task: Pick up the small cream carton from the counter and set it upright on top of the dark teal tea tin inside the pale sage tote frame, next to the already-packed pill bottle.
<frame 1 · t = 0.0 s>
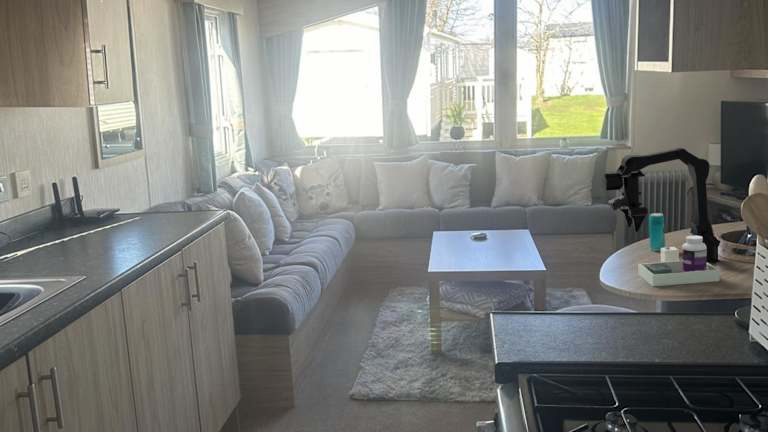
hand: (632, 229, 287), 15 cm above the table, fingers open, 9 cm apart
tote: (677, 277, 271), on the table
pill bottle: (694, 276, 270), resting in tote
tin: (659, 279, 271), resting in tote
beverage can: (657, 250, 311), on the table
carton: (670, 266, 285), on the table
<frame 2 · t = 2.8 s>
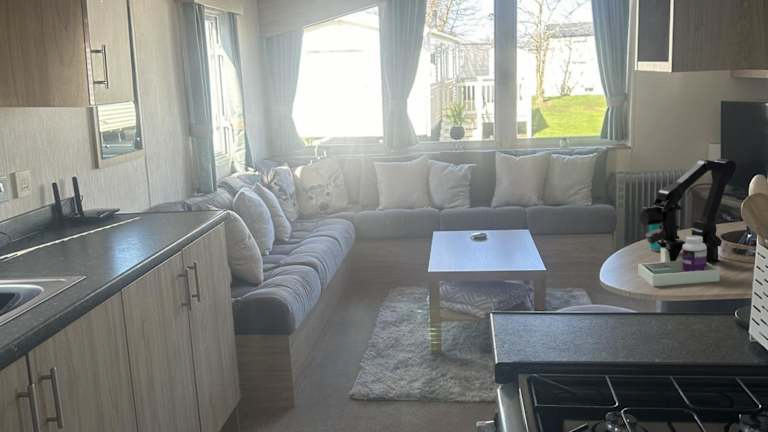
hand: (669, 262, 285), 2 cm above the table, fingers closed on carton, 5 cm apart
carton: (669, 266, 285), on the table, touching gripper
everything else where it was.
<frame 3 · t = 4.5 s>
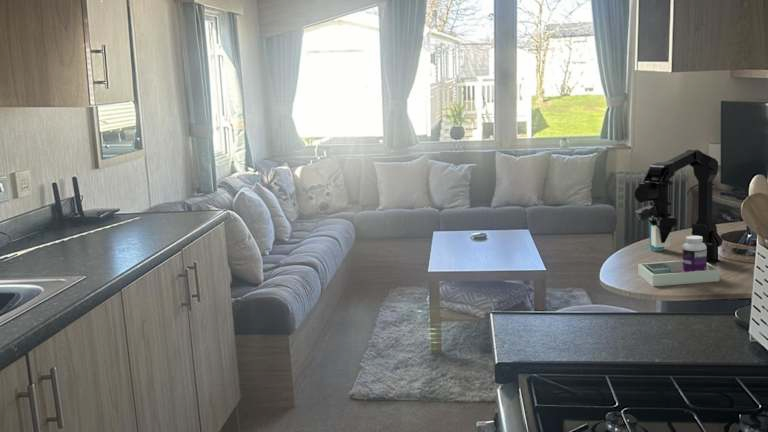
hand: (660, 241, 273), 13 cm above the table, fingers closed on carton, 5 cm apart
carton: (660, 245, 273), point 11 cm above the table, touching gripper
everything else where it was.
when the fingers open (8 cm above the table, at t = 6.3 s): carton drops 2 cm, resting on tin.
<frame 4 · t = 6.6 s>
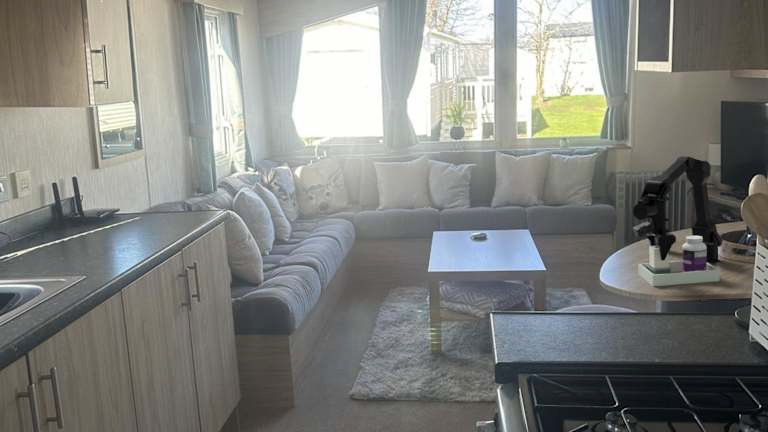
hand: (659, 257, 269), 8 cm above the table, fingers open, 8 cm apart
tin: (658, 279, 271), resting in tote, touching carton
carton: (659, 266, 270), point 5 cm above the table, touching tin
everything else where it was.
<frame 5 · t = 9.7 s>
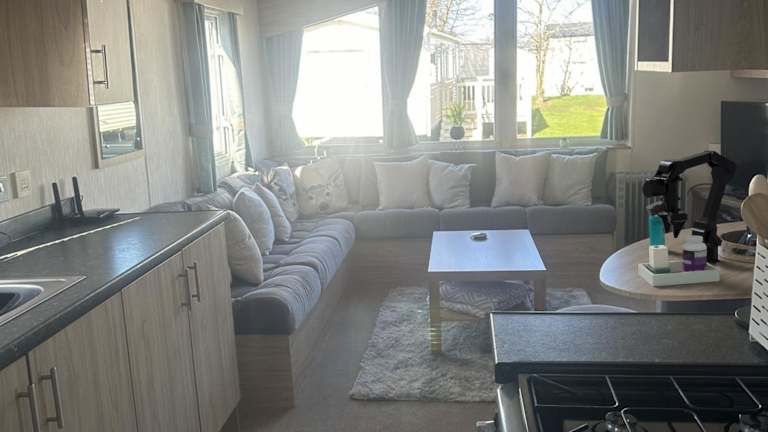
hand: (671, 235, 281), 13 cm above the table, fingers open, 9 cm apart
nothing on the table moved.
at the end: carton 0.2 cm off-centre on the tin, point 5.0 cm above the tin's base; carton tilted 0°; tin moved 0.4 cm from its start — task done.
